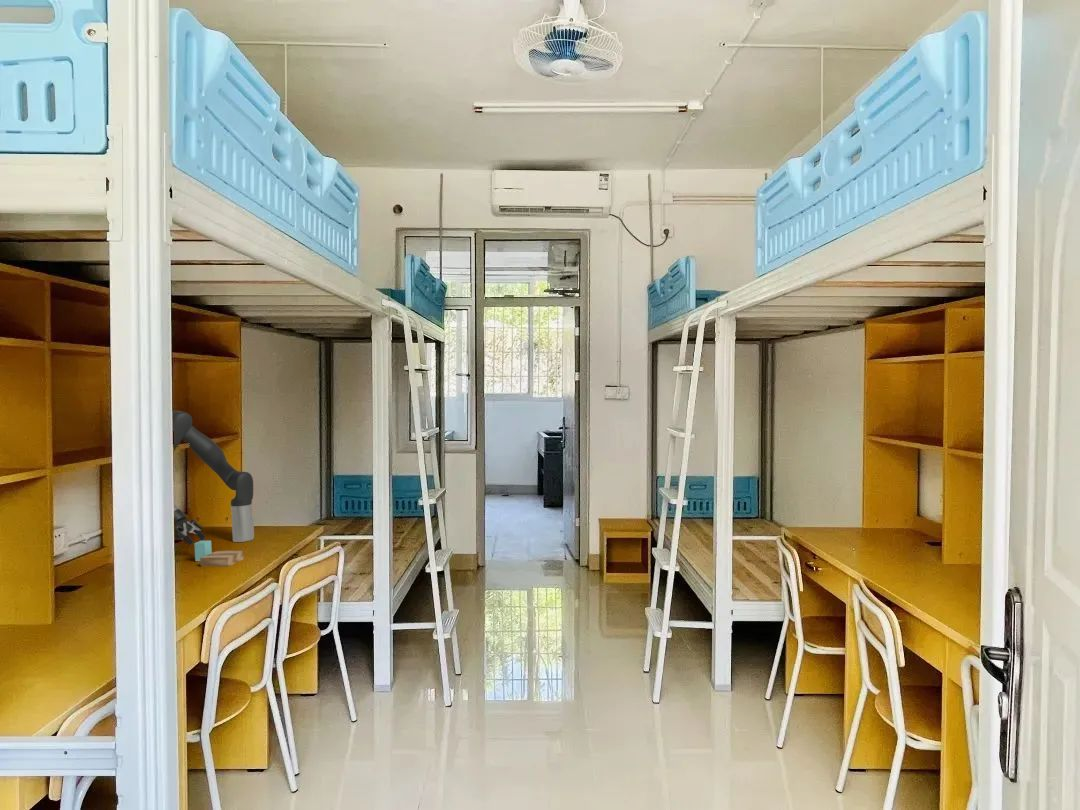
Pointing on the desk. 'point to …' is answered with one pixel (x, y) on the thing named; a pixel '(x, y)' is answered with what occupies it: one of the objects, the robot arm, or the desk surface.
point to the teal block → (202, 549)
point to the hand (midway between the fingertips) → (198, 541)
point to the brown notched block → (222, 558)
